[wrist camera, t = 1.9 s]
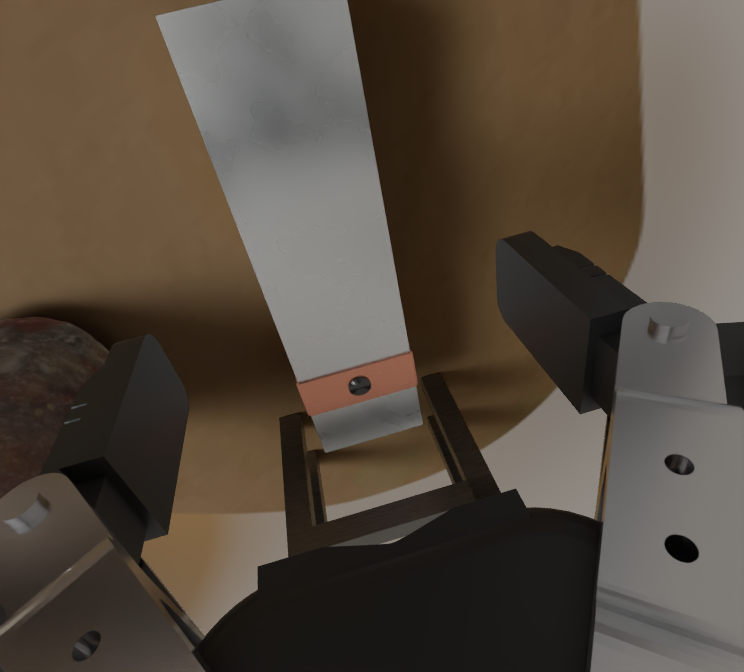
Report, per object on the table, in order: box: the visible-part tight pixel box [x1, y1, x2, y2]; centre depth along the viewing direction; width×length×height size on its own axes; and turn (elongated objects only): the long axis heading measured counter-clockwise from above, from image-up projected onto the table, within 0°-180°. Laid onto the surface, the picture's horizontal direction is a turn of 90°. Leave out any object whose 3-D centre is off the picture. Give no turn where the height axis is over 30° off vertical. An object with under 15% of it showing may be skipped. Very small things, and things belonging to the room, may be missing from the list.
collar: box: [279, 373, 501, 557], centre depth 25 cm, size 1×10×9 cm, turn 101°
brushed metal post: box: [156, 0, 423, 453], centre depth 20 cm, size 18×5×5 cm, turn 11°
